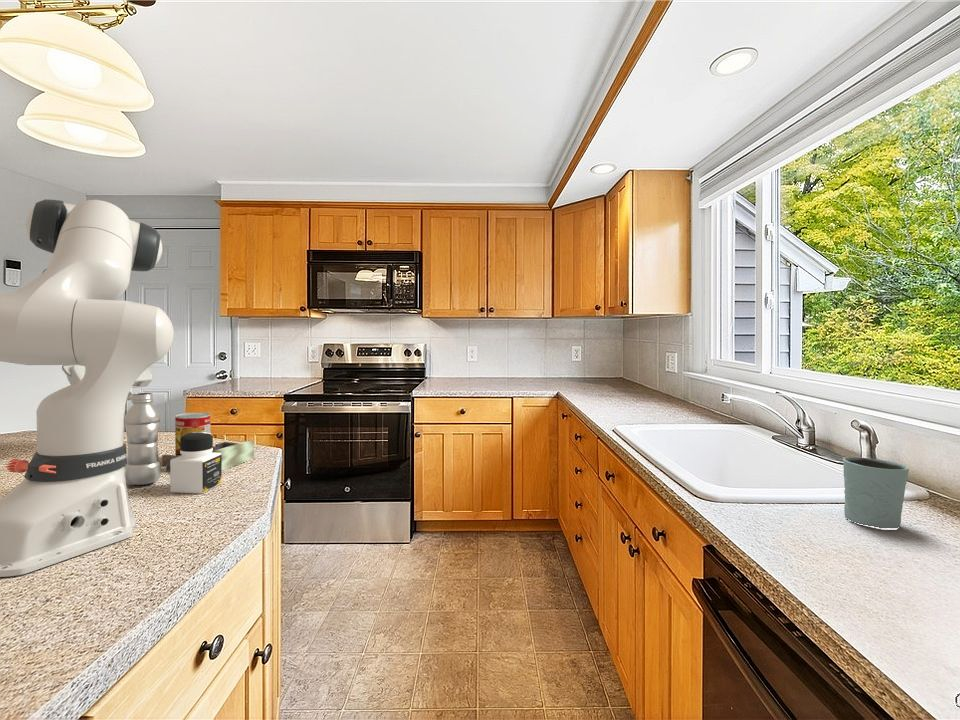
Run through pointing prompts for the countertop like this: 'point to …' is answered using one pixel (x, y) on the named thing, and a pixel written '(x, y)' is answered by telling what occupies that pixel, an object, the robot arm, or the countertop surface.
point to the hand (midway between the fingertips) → (129, 399)
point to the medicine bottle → (196, 465)
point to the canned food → (190, 426)
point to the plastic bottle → (142, 441)
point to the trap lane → (225, 454)
